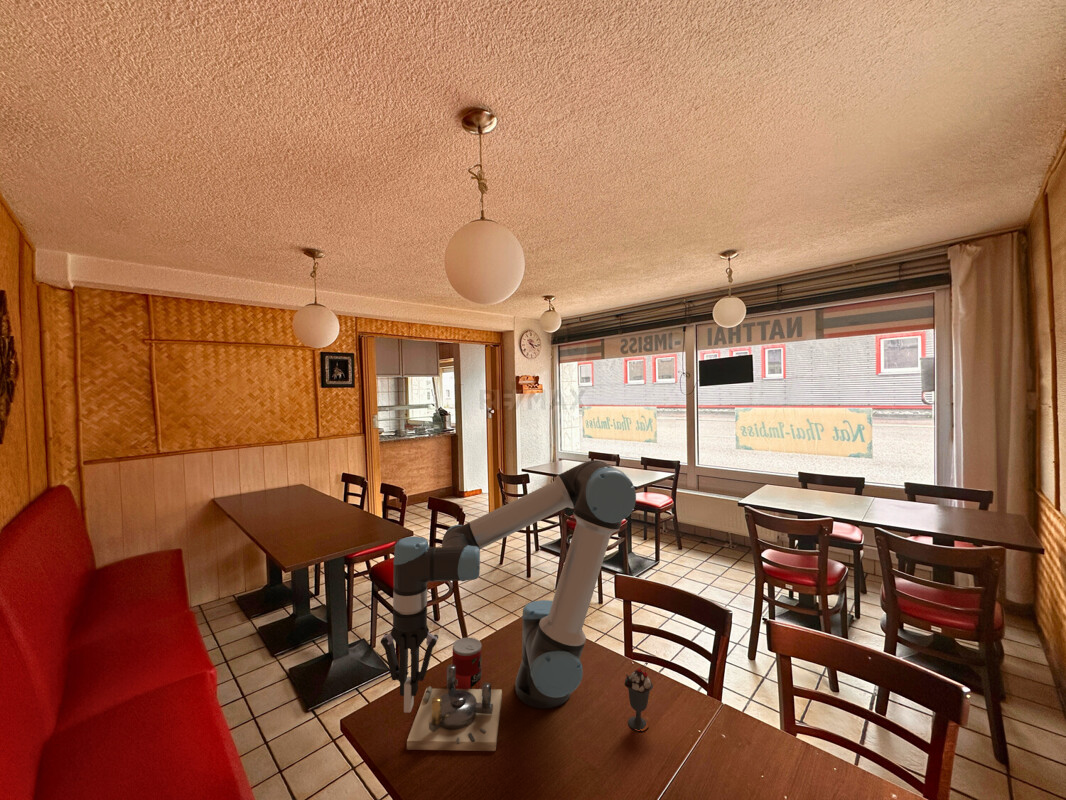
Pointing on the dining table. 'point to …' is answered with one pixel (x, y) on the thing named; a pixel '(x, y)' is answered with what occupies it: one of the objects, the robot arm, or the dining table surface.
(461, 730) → the stand
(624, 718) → the dining table surface
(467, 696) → the cam capstan
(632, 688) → the sundae
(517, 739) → the dining table surface
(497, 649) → the dining table surface
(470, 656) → the canned food
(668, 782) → the dining table surface
